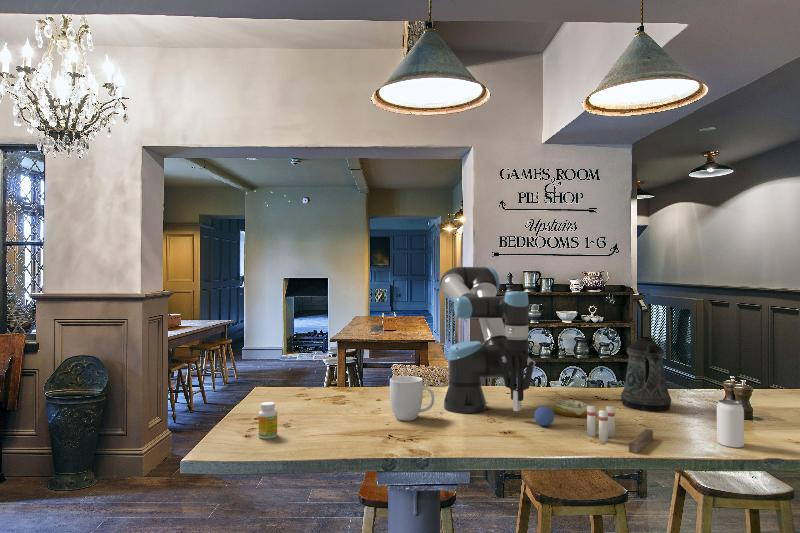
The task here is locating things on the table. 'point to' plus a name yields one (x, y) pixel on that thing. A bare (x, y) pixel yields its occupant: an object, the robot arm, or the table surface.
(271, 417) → the supplement bottle
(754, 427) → the table surface
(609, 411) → the pin back left
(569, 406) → the decorated donut
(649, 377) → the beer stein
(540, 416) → the ball
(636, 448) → the rail
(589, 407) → the pin front
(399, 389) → the mug
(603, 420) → the pin back right
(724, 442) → the can
